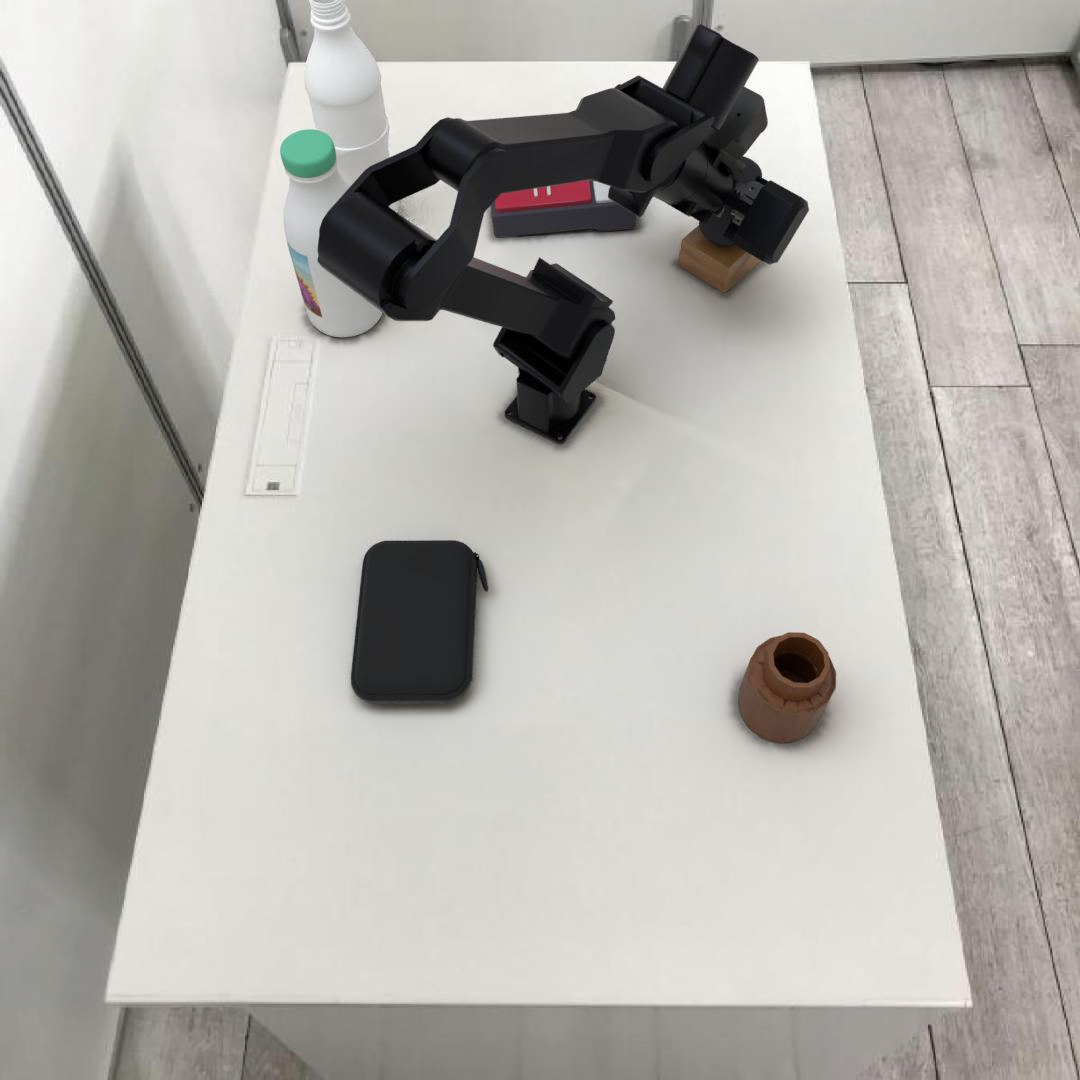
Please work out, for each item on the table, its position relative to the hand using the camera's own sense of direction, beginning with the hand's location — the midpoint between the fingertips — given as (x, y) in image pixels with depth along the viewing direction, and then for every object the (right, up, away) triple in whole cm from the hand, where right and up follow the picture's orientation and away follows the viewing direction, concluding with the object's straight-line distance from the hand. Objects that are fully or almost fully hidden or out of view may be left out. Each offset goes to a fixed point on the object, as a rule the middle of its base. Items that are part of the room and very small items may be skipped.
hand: (736, 203), depth 104 cm
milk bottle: (-39, -10, +3) cm, 40 cm away
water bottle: (-37, +1, +10) cm, 39 cm away
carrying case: (-29, -40, -16) cm, 52 cm away
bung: (-1, -3, +2) cm, 4 cm away
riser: (-1, -4, +5) cm, 7 cm away
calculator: (-17, +4, +11) cm, 21 cm away
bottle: (0, -46, -20) cm, 50 cm away
